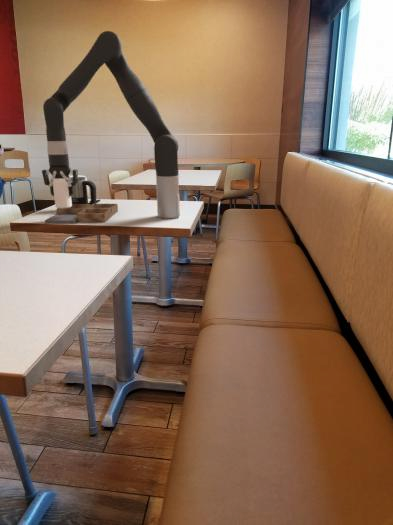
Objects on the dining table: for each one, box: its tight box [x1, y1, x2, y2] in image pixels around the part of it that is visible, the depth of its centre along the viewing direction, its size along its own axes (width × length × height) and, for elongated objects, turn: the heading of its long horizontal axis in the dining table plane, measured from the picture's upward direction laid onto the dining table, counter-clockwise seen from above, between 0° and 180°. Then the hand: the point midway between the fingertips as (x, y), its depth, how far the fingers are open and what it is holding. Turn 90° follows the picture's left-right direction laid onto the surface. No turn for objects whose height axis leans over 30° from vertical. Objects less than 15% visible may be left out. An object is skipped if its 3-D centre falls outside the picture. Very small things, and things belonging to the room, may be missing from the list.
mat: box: [44, 213, 78, 224], centre depth 168 cm, size 12×12×1 cm
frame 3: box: [87, 203, 119, 217], centre depth 180 cm, size 11×11×4 cm
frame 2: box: [76, 208, 113, 223], centre depth 169 cm, size 11×11×4 cm
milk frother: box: [69, 176, 101, 205], centre depth 191 cm, size 14×16×15 cm
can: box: [53, 177, 72, 209], centre depth 164 cm, size 6×6×12 cm
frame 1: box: [56, 204, 90, 215], centre depth 179 cm, size 11×11×4 cm
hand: (62, 195), depth 165 cm, fingers closed on can, 6 cm apart
